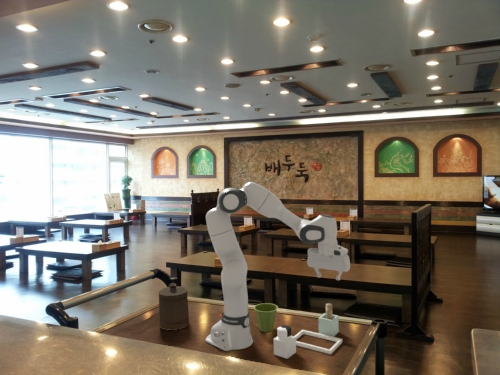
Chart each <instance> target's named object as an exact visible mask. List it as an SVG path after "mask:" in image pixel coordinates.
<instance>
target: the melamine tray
mask: <svg viewBox="0 0 500 375" xmlns="http://www.w3.org/2000/svg"><path fill="white" fill-rule="evenodd" d="M303 335H306V336H310V337H314V338H319V339H322V340H328V341H331V342H335V343H334V344H333V345H332V346H331V347H330V348H326V347H321V346H319V345H318V346H317V345H314V344H310V343H307V342H302V341H299V340H298V339H299V338H300V337H302V336H303ZM294 337H296V347H300V348H303V349H307V351H309V352H310V350H311V352H312V353H316V354H317V352H318V354H319V355H320V354H321V353H322V356H323V355H324V356H325V354H326V357H327V356H328V357H331V355H332V354H333V353H334V352H335V351H336V350H337V349H338V348H339V347H340V346H341V345H342V343H343V338H340V337H336V336H334V337H332V336H328V335H323V334H319V332H314V331H310V330H305V329H301V330H300V331H298V333H296V334H295V335H294ZM308 349H309V350H308ZM319 352H320V353H319ZM323 353H324V354H323Z"/></svg>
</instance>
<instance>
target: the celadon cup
mask: <svg viewBox="0 0 500 375" xmlns="http://www.w3.org/2000/svg"><path fill="white" fill-rule="evenodd" d="M332 318H333V319H332V320H330V319H326V312H324V313H322V314H321V315H320V316H319V317H318V318H317V319H318V333H319V334H323V335H328V336H332V337H336V335H337V334H339V332H340V330H339V325H340V324H339V315H337V314H332Z"/></svg>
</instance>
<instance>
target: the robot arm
mask: <svg viewBox="0 0 500 375" xmlns="http://www.w3.org/2000/svg"><path fill="white" fill-rule="evenodd" d="M245 206H248V207H250V208H251V209H253V210H254V211H255V212H257V213H258V214H260V215H262V216H264V217H266V218H268V219H271V218H272V219H277V220H278V221H280V222H282V223H283V224H285V225H286V226H288V227H290V228H291V230H292V231H293V232H294V234H295V235H296V237H298V238H299V240H300V241H302V242H303V243H304V244H306V245H313V244H316V243H317V247H310V248H308V249H307V266H308V267H309V268H312V269H313V268H314V271H315V273H316V277H317V278H322V272H321V271H320V269H321V270H328V271H336V272H337V273H338V274H337V275H336V276H335V280H336V281H340V280H341V276H342V274H343V273H347V272H349V271H350V270H351V261H350V256H349V255H348V253H349V249H348V248H345V247H343V246H341V245H340V244H338V240H337V237H338V224H337V219H336V217H334V216H332V215H329V214H324V213H322V214H319V215H318V216H317V217H315V218H313V219H308V218H303V217H300V216H298V215H296V214H295V213H293V212H292V211H291V210H289V209H288V208H287V207H286V206H285V205H284V204H283V203H282V200H281V199H280V198H279V197H278V196H276V194H274V193H273V192H272V191H271V190H269V189H267V188H266V187H264V186H263V185H261V184H259V183H256V182H254V181H248V182H246V183H245V184H244V185H243V186H242V187H241V188H240V189H237V188H233V187H225V188H223V189H221V190H220V192H219V193H218V195H217V201H216V207H213V208H212V209H209V210H208V211H207V212H206V214H205V222H206V228H207V231H208V235H209V238H210V240H211V243H212V246H213V249H214V252H215V254H216V255H217V257H218V259H219V261H220V263H221V266H222V270H221V273H220V278H221V279H220V280H221V288H222V294H223V310H224V311H222V313H219V317H220V318H221V319H220V320H219V321H217V322H216V323H215V324H214V325H213V326H212V327H211V329H210V333H209V335H207V337H206V338H205V342H206V343H208V344H210V345H211V346H215V347H217V348H218V349H220V350H222V351H225V352H228V351H229V352H230V351H232V350H233V351H234V350H242V349H243V350H244V349H246V348H249V347H250V346H252V345H253V343H254V339H253V337H252V334H251V328H250V311H249V298H248V297H249V295H248V285H247V276H248V275H247V274H248V270H249V269H248V263H247V261H246V258H245V256H244V254H243V251H242V248H241V247H240V245H239V242H238V239H237V236H236V233H235V230H234V227H233V224H232V221H231V215H232V214H235V213H237V212H238V211H240V210H241V209H243V208H244V207H245Z"/></svg>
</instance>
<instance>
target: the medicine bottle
mask: <svg viewBox="0 0 500 375" xmlns="http://www.w3.org/2000/svg"><path fill="white" fill-rule="evenodd" d="M276 332H277V333H276V334H277V336H276V337H274V338H273V339H272V341H273V355H275V356H277V357H281V358H283V359H286V360H288V359H290V358H291V357H292V356H293V355H294V354H296V353H297V345H296V341H297V340H296V337H294V336H295V335H294V336H293V335H292V327H291V326H290V325H287V324H282V325H279V326H277V328H276Z"/></svg>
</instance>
